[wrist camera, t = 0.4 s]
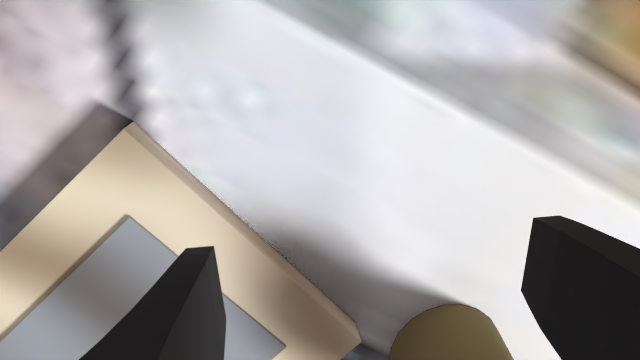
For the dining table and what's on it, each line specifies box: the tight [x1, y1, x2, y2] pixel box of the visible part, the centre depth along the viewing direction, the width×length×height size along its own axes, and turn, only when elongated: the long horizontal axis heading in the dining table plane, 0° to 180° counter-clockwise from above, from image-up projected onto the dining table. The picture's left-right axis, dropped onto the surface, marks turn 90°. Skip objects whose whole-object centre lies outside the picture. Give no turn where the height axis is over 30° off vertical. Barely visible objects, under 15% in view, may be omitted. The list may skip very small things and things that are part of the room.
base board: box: [0, 121, 362, 360], centre depth 21 cm, size 14×14×2 cm
